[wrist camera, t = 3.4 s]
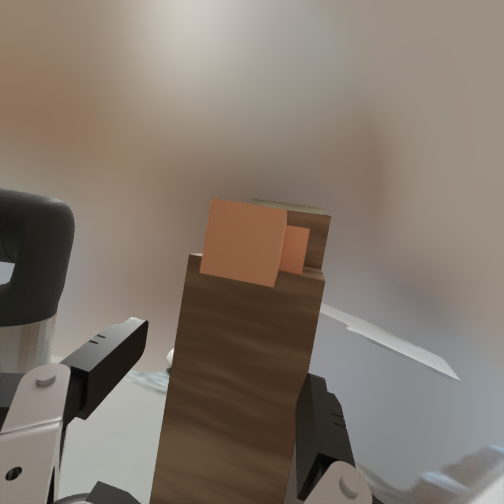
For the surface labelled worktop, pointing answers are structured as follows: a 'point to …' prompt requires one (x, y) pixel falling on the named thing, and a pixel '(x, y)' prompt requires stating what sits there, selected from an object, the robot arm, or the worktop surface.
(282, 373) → the walnut step stand
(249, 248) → the coral tab brick
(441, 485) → the worktop surface
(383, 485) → the worktop surface
